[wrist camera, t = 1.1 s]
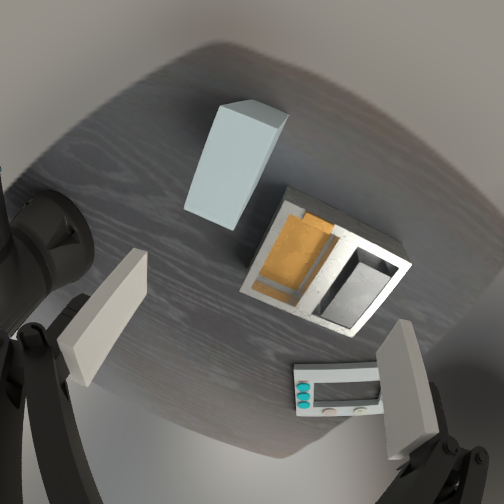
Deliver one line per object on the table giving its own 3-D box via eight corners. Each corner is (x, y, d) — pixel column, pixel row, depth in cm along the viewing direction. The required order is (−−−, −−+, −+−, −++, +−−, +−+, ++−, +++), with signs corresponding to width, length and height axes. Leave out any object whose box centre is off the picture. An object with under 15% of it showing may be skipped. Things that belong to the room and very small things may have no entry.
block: (224, 166, 32) (183, 208, 22) (252, 99, 28) (219, 105, 18) (258, 181, 33) (233, 230, 22) (288, 114, 28) (277, 129, 18)
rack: (246, 269, 38) (237, 296, 34) (287, 185, 32) (283, 203, 27) (349, 313, 39) (352, 343, 35) (402, 243, 33) (414, 269, 28)
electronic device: (408, 367, 41) (390, 414, 48) (406, 356, 43) (389, 405, 50) (293, 372, 45) (296, 417, 52) (294, 360, 47) (297, 408, 54)
